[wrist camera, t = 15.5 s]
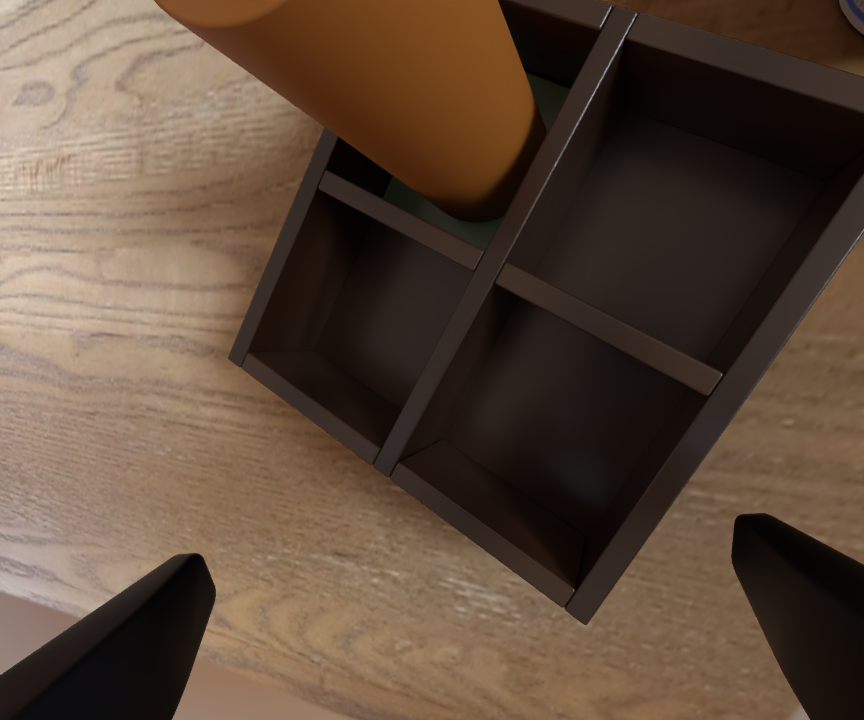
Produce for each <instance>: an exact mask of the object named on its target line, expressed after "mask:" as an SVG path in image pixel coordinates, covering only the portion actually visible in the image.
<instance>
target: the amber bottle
mask: <svg viewBox="0 0 864 720" xmlns="http://www.w3.org/2000/svg"><path fill="white" fill-rule="evenodd" d="M154 1H155V2H156V3H157V4H158V6H159V7H160V8H161V9H163V10H164V11H165V12H166V13H167V14H168V15H170V16H171V17H172V18H174V19H175V20H176V21H178V22H179V23H181V24H182V25H183V26H185V27H186V28H188V29H189V30H190V31H192V32H193V33H194V34H196V35H197V36H199V37H200V38H201V39H203V40H204V41H206V42H207V43H208V44H210V45H211V46H213V47H214V48H215V49H217V50H218V51H220V52H221V53H222V54H224V55H225V56H227V57H228V58H229V59H231V60H232V61H234V62H235V63H236V64H238V65H239V66H241V67H242V68H243V69H245V70H246V71H248V72H249V73H250V74H252V75H253V76H255V77H256V78H257V79H259V80H260V81H262V82H263V83H264V84H266V85H267V86H269V87H270V88H271V89H273V90H274V91H276V92H277V93H278V94H280V95H281V96H282V97H284V98H285V99H287V100H288V101H289V102H291V103H292V104H294V105H295V106H296V107H298V108H299V109H301V110H302V111H303V112H305V113H306V114H308V115H309V116H310V117H312V118H313V119H315V120H316V121H317V122H319V123H320V124H322V125H323V126H324V127H326V128H327V129H329V130H330V131H331V132H333V133H334V134H336V135H337V136H338V137H340V138H341V139H343V140H344V141H345V142H347V143H348V144H350V145H351V146H352V147H354V148H355V149H357V150H358V151H359V152H361V153H362V154H364V155H365V156H366V157H368V158H369V159H370V160H372V161H373V162H375V163H376V164H377V165H379V166H380V167H382V168H383V169H384V170H386V171H387V172H389V173H390V174H391V175H393V176H394V177H396V178H397V179H398V180H400V181H401V182H403V183H404V184H405V185H407V186H408V187H410V188H411V189H412V190H414V191H415V192H417V193H418V194H419V195H421V196H422V197H424V198H425V199H426V200H428V201H429V202H431V203H432V204H433V205H435V206H436V207H438V208H439V209H440V210H442V211H443V212H445V213H446V214H448V215H449V216H451V217H453V218H456V219H458V220H462V221H466V222H486V221H491V220H494V219H497V218H500V217H502V216H504V215H505V213H506V211H507V209H508V207H509V205H510V203H511V201H512V199H513V198H514V196H515V194H516V192H517V190H518V188H519V186H520V184H521V182H522V180H523V178H524V177H525V175H526V173H527V171H528V169H529V167H530V165H531V163H532V161H533V159H534V158H535V156H536V154H537V152H538V150H539V148H540V146H541V144H542V142H543V140H544V138H545V137H546V135H547V131H546V127H545V124H544V121H543V119H542V116H541V113H540V111H539V108H538V105H537V103H536V100H535V97H534V95H533V92H532V90H531V87H530V84H529V82H528V79H527V76H526V74H525V71H524V68H523V66H522V63H521V60H520V58H519V55H518V52H517V50H516V47H515V44H514V42H513V39H512V37H511V34H510V31H509V29H508V26H507V23H506V21H505V18H504V15H503V13H502V10H501V7H500V5H499V2H498V0H154Z"/></svg>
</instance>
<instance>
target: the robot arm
mask: <svg viewBox="0 0 864 720" xmlns="http://www.w3.org/2000/svg"><path fill="white" fill-rule="evenodd" d="M731 557H732V564H733V567H734V570H735V573H736V575H737V577H738V579H739V581H740V583H741V586H742V588H743V590H744V592H745V594H746V596H747V598H748V600H749V603H750V605H751V607H752V609H753V611H754V613H755V615H756V617H757V620H758V622H759V624H760V626H761V628H762V630H763V632H764V634H765V637H766V639H767V641H768V643H769V645H770V647H771V649H772V652H773V654H774V656H775V658H776V660H777V662H778V664H779V666H780V668H781V670H782V672H783V674H784V675H785V677H786V679H787V681H788V683H789V684H790V686H791V688H792V690H793V691H794V693H795V695H796V696H797V698H798V700H799V702H800V703H801V705H802V707H803V708H804V710H805V712H806V713H807V715H808V717H809V718H810V720H864V565H863V564H861V563H859V562H858V561H856V560H854V559H852V558H850V557H848V556H846V555H844V554H843V553H841V552H839V551H837V550H835V549H833V548H831V547H829V546H828V545H826V544H824V543H822V542H820V541H818V540H816V539H814V538H813V537H811V536H809V535H807V534H805V533H803V532H801V531H799V530H798V529H796V528H794V527H792V526H790V525H788V524H786V523H784V522H783V521H781V520H779V519H777V518H775V517H773V516H771V515H769V514H766V513H755V514H742V515H739V516H738V517H737V518H736V520H735V523H734V533H733V543H732V554H731ZM215 597H216V589H215V585H214V582H213V580H212V577H211V575H210V572H209V570H208V568H207V565H206V563H205V560H204V558H203V557H202V556H201V555H200V554H198V553H189V554H179V555H175V556H173V557H172V558H170V559H169V560H167V561H166V562H164V563H163V564H162V565H160V566H159V567H157V568H156V569H154V570H153V571H151V572H150V573H148V574H147V575H146V576H144V577H143V578H141V579H140V580H138V581H137V582H135V583H134V584H132V585H131V586H130V587H128V588H127V589H125V590H124V591H122V592H121V593H119V594H118V595H116V596H115V597H114V598H112V599H111V600H109V601H108V602H106V603H105V604H103V605H102V606H100V607H99V608H98V609H96V610H95V611H93V612H92V613H90V614H89V615H87V616H86V617H84V618H83V619H82V620H80V621H79V622H77V623H76V624H74V625H73V626H71V627H70V628H68V629H67V630H66V631H64V632H63V633H61V634H60V635H58V636H57V637H55V638H54V639H52V640H51V641H50V642H48V643H47V644H45V645H44V646H42V647H41V648H39V649H38V650H36V651H35V652H33V653H32V654H31V655H29V656H28V657H26V658H25V659H23V660H22V661H20V662H19V663H17V664H16V665H15V666H13V667H12V668H10V669H9V670H7V671H6V672H4V673H3V674H2V675H0V720H172V718H173V716H174V714H175V711H176V709H177V707H178V704H179V702H180V699H181V697H182V694H183V692H184V689H185V687H186V684H187V681H188V679H189V676H190V673H191V670H192V667H193V664H194V661H195V658H196V655H197V652H198V650H199V647H200V644H201V641H202V638H203V635H204V632H205V629H206V626H207V623H208V620H209V617H210V614H211V611H212V609H213V606H214V602H215Z"/></svg>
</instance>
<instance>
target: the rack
mask: <svg viewBox="0 0 864 720" xmlns="http://www.w3.org/2000/svg"><path fill="white" fill-rule="evenodd" d="M498 2H499V5H500V7H501V10H502V13H503V15H504V18H505V21H506V23H507V26H508V29H509V31H510V34H511V37H512V39H513V42H514V44H515V47H516V50H517V52H518V55H519V58H520V60H521V63H522V66H523V68H524V71H525V74H526V76H527V79H528V82H529V84H530V87H531V90H532V92H533V95H534V97H535V100H536V103H537V105H538V108H539V111H540V113H541V116H542V119H543V121H544V124H545V127H546V131H547V135H546V137H545V138H544V140H543V142H542V144H541V146H540V148H539V150H538V152H537V154H536V156H535V158H534V159H533V161H532V163H531V165H530V167H529V169H528V171H527V173H526V175H525V177H524V178H523V180H522V182H521V184H520V186H519V188H518V190H517V192H516V194H515V196H514V198H513V199H512V201H511V203H510V205H509V207H508V209H507V211H506V213H505V215H504V216H502V217H500V218H497V219H494V220H491V221H486V222H466V221H462V220H458V219H456V218H453V217H451V216H449V215H448V214H446V213H445V212H443V211H442V210H440V209H439V208H438V207H436V206H435V205H433V204H432V203H431V202H429V201H428V200H426V199H425V198H424V197H422V196H421V195H419V194H418V193H417V192H415V191H414V190H412V189H411V188H410V187H408V186H407V185H405V184H404V183H403V182H401V181H400V180H398V179H397V178H396V177H394V176H393V175H391V174H390V173H389V172H387V171H386V170H384V169H383V168H382V167H380V166H379V165H377V164H376V163H375V162H373V161H372V160H370V159H369V158H368V157H366V156H365V155H364V154H362V153H361V152H359V151H358V150H357V149H355V148H354V147H352V146H351V145H350V144H348V143H347V142H345V141H344V140H343V139H341V138H340V137H338V136H337V135H336V134H334V133H333V132H331V131H330V130H329V129H327V128H326V127H324V130H323V132H322V134H321V137H320V139H319V142H318V144H317V146H316V149H315V151H314V153H313V156H312V158H311V161H310V163H309V165H308V168H307V170H306V173H305V175H304V177H303V180H302V182H301V184H300V187H299V189H298V192H297V194H296V196H295V199H294V201H293V204H292V206H291V208H290V211H289V213H288V215H287V218H286V220H285V223H284V225H283V227H282V230H281V232H280V235H279V237H278V239H277V242H276V244H275V247H274V249H273V251H272V254H271V256H270V258H269V261H268V263H267V266H266V268H265V270H264V273H263V275H262V278H261V280H260V282H259V285H258V287H257V289H256V292H255V294H254V297H253V299H252V301H251V304H250V306H249V309H248V311H247V313H246V316H245V318H244V320H243V323H242V325H241V328H240V330H239V332H238V335H237V337H236V340H235V342H234V344H233V347H232V349H231V352H230V354H229V356H228V359H229V360H230V361H232V362H233V363H234V364H236V365H237V366H238V367H241V368H242V369H243V370H244V371H246V372H247V373H248V374H250V375H251V376H252V377H254V378H255V379H256V380H258V381H259V382H260V383H262V384H263V385H264V386H266V387H267V388H268V389H270V390H271V391H272V392H274V393H275V394H276V395H278V396H279V397H280V398H282V399H283V400H285V401H286V402H287V403H289V404H290V405H291V406H293V407H294V408H295V409H297V410H298V411H299V412H301V413H302V414H303V415H305V416H306V417H307V418H309V419H310V420H311V421H313V422H314V423H315V424H317V425H318V426H319V427H321V428H322V429H323V430H325V431H326V432H327V433H329V434H330V435H331V436H333V437H334V438H335V439H337V440H338V441H339V442H341V443H342V444H343V445H345V446H346V447H347V448H349V449H350V450H352V451H353V452H354V453H356V454H357V455H358V456H360V457H361V458H362V459H364V460H365V461H366V462H368V463H369V464H371V465H373V464H374V465H373V466H374V468H376V469H377V470H378V471H380V472H381V473H382V474H384V475H385V476H386V477H390V480H392V481H393V482H394V483H396V484H397V485H398V486H400V487H401V488H402V489H404V490H405V491H406V492H408V493H409V494H410V495H412V496H413V497H414V498H416V499H417V500H418V501H420V502H421V503H422V504H424V505H425V506H426V507H428V508H429V509H430V510H432V511H433V512H434V513H436V514H437V515H438V516H440V517H441V518H442V519H444V520H445V521H446V522H448V523H449V524H450V525H452V526H453V527H455V528H456V529H457V530H459V531H460V532H461V533H463V534H464V535H465V536H467V537H468V538H469V539H471V540H472V541H473V542H475V543H476V544H477V545H479V546H480V547H481V548H483V549H484V550H485V551H487V552H488V553H489V554H491V555H492V556H493V557H495V558H496V559H497V560H499V561H500V562H501V563H503V564H504V565H505V566H507V567H508V568H509V569H511V570H512V571H513V572H515V573H516V574H517V575H519V576H520V577H522V578H523V579H524V580H526V581H527V582H528V583H530V584H531V585H532V586H534V587H535V588H536V589H538V590H539V591H540V592H542V593H543V594H544V595H546V596H547V597H548V598H550V599H551V600H552V601H554V602H555V603H556V604H558V605H559V606H560V607H562V608H563V607H565V610H566V611H567V612H568V613H569V614H571V615H572V616H573V617H575V618H576V619H577V620H579V621H580V622H581V623H583V624H584V625H587V624H588V623H589V621H590V620H591V618H592V617H593V615H594V614H595V613H596V611H597V610H598V608H599V607H600V606H601V604H602V603H603V601H604V600H605V598H606V597H607V596H608V594H609V593H610V591H611V590H612V589H613V587H614V586H615V584H616V583H617V581H618V580H619V579H620V577H621V576H622V574H623V573H624V572H625V570H626V569H627V567H628V566H629V564H630V563H631V562H632V560H633V559H634V557H635V556H636V555H637V553H638V552H639V550H640V549H641V547H642V546H643V545H644V543H645V542H646V540H647V539H648V538H649V536H650V535H651V533H652V532H653V531H654V529H655V528H656V526H657V525H658V523H659V522H660V521H661V519H662V518H663V516H664V515H665V514H666V512H667V511H668V509H669V508H670V506H671V505H672V504H673V502H674V501H675V499H676V498H677V497H678V495H679V494H680V492H681V491H682V489H683V488H684V487H685V485H686V484H687V482H688V481H689V480H690V478H691V477H692V475H693V474H694V472H695V471H696V470H697V468H698V467H699V465H700V464H701V463H702V461H703V460H704V458H705V457H706V455H707V454H708V453H709V451H710V450H711V448H712V447H713V446H714V444H715V443H716V441H717V440H718V438H719V437H720V436H721V434H722V433H723V431H724V430H725V429H726V427H727V426H728V424H729V423H730V421H731V420H732V419H733V417H734V416H735V414H736V413H737V412H738V410H739V409H740V407H741V406H742V405H743V403H744V402H745V400H746V399H747V397H748V396H749V395H750V393H751V392H752V390H753V389H754V388H755V386H756V385H757V383H758V382H759V380H760V379H761V378H762V376H763V375H764V373H765V372H766V371H767V369H768V368H769V366H770V365H771V363H772V362H773V361H774V359H775V358H776V356H777V355H778V354H779V352H780V351H781V349H782V348H783V346H784V345H785V344H786V342H787V341H788V339H789V338H790V337H791V335H792V334H793V332H794V331H795V329H796V328H797V327H798V325H799V324H800V322H801V321H802V320H803V318H804V317H805V315H806V314H807V312H808V311H809V310H810V308H811V307H812V305H813V304H814V303H815V301H816V300H817V298H818V297H819V295H820V294H821V293H822V291H823V290H824V288H825V287H826V286H827V284H828V283H829V281H830V280H831V279H832V277H833V276H834V274H835V273H836V271H837V270H838V269H839V267H840V266H841V264H842V263H843V262H844V260H845V259H846V257H847V256H848V254H849V253H850V252H851V250H852V249H853V247H854V246H855V245H856V243H857V242H858V240H859V239H860V237H861V236H862V235H863V233H864V77H863V76H860V75H856V74H853V73H849V72H846V71H842V70H839V69H835V68H832V67H829V66H825V65H822V64H818V63H815V62H811V61H808V60H805V59H801V58H798V57H794V56H791V55H787V54H784V53H781V52H777V51H774V50H770V49H767V48H763V47H760V46H757V45H753V44H750V43H746V42H743V41H739V40H736V39H733V38H729V37H726V36H722V35H719V34H715V33H712V32H709V31H705V30H702V29H698V28H695V27H691V26H688V25H684V24H681V23H678V22H674V21H671V20H667V19H664V18H660V17H657V16H654V15H650V14H647V13H643V12H640V13H639V14H638V12H637V11H634V10H631V9H627V8H624V7H620V6H614V7H613V5H612V4H610V3H607V2H603V1H600V0H498Z"/></svg>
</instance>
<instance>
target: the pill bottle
mask: <svg viewBox="0 0 864 720" xmlns="http://www.w3.org/2000/svg"><path fill="white" fill-rule="evenodd" d="M839 2H840V6H841V9H842V11H843V13H844V14H845V16H846V17H847V19H848V20H849V22H850V23H851V24H852V25H853V26H854V27H855V28H856V29H857V30H858V31H859V32H861V33H862V34H863V35H864V0H839Z"/></svg>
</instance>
